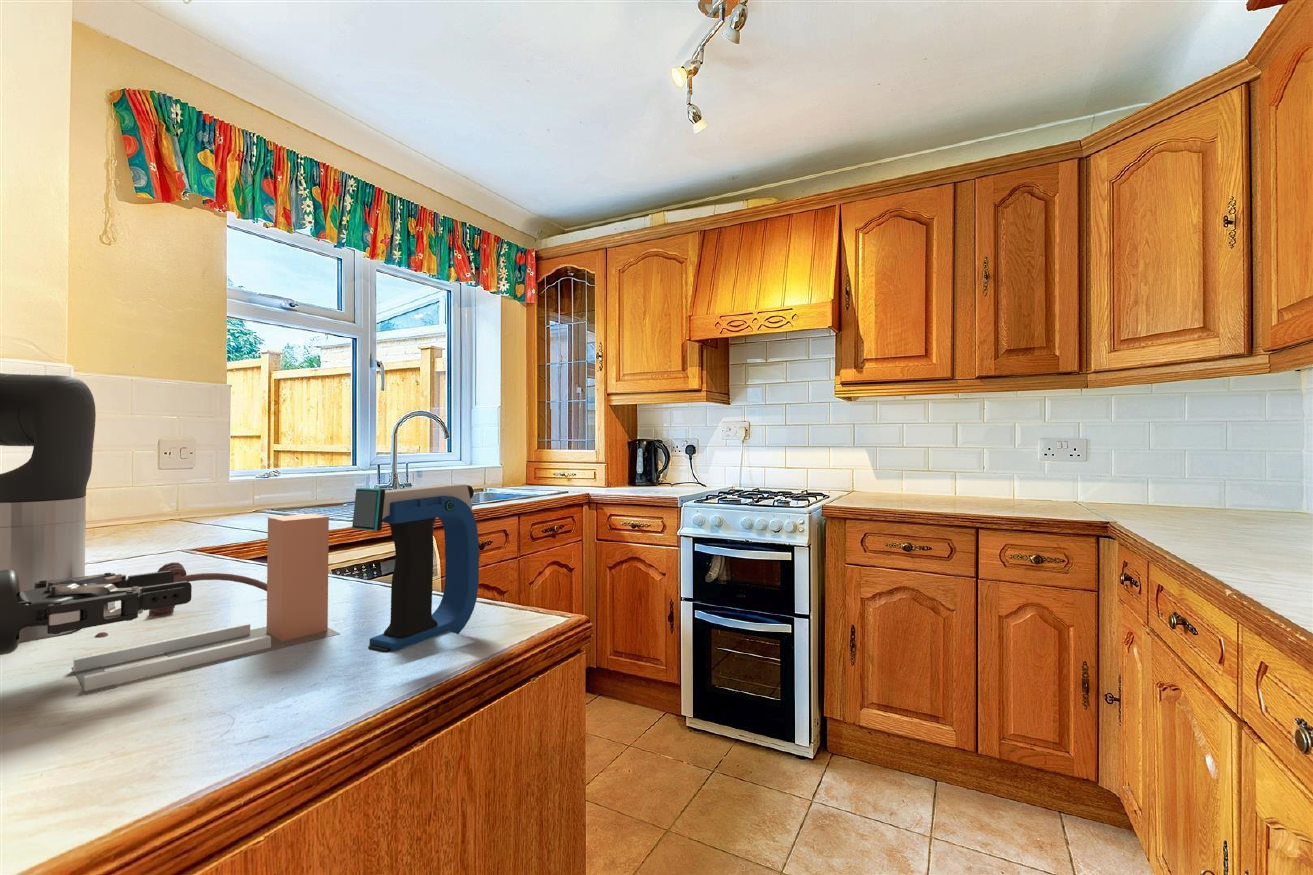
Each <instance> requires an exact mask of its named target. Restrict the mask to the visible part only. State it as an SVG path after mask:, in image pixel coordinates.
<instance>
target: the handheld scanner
mask: <svg viewBox="0 0 1313 875" xmlns="http://www.w3.org/2000/svg"><path fill="white" fill-rule="evenodd" d="M474 492H475V491H474V489H473V487H472V485H470V484H469V485H468V484H464V483H450V484H449V483H448V484H436V485H427V486H426V485H424V486H417V487H407V488H406V487H405V488H396V489H385V488H368V487H367V488H365V487H363V488H361V487H358V488H356V489H355V496H354V497H355V498H354V507H353V515H352V526H351V527H352V529H353V530H360V531H362V530H363V531H371V532H379V531H382V530H383V529H382V527H383V524H388V525H389V527H390V533H391V537H392V540H393V544H394V549H395V550H394V551H395V552H394V553H395V555H394V556H395V558H394V567H393V568H394V569H393V573H392V576H391V588H390V589H391V590H390V592H391V593H390V623H389V625H388V626H387V627H386V629H384V632H383V633H381V634H378V635H376V636H373V637H372V636H371V637H370V638H369V642H368V643H369V645H368V646H367V648H368V650H369V651H373V652H379V653H388V652H393V653H394V652H397V651H400V650H403V649H405V648H407V647H410V646H413V645H415V644H419V643H422V642H423V641H426V640H427V641H428V640H429V639H431V638H434V637H436V636H440V635H442V634H445V633H447V632H451V633H454V634H456V635H459V634H460V633H461V632H462V631H463V629H464V628H465V627H466V625H467V623H468V622H469V621H470V619H471V618H472V614H473V612H474V610H475V606H476V603H477V598H478V592H479V584H480V581H479V580H480V546H479V542H480V541H479V532H478V525H477V520H476V518H475V514H474V511H473V510H474V509H473V503H472V501H471V499H472V498H473V496H474ZM437 518H438V519H439V520H440V522H441V524H442V528H443V532H444V552H445V553H444V557H445V558H444V559H445V560H444V564H445V565H444V566H445V567H444V574H445V575H444V588H443V594H442V598H441V601H440V603H439V605H438V606H437V608H436V610H435V611H433V613H432V610H433V607H432V606H433V581H434V580H433V579H434V527H435V526H434V525H435V522H436V521H437V520H436V519H437Z"/></svg>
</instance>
